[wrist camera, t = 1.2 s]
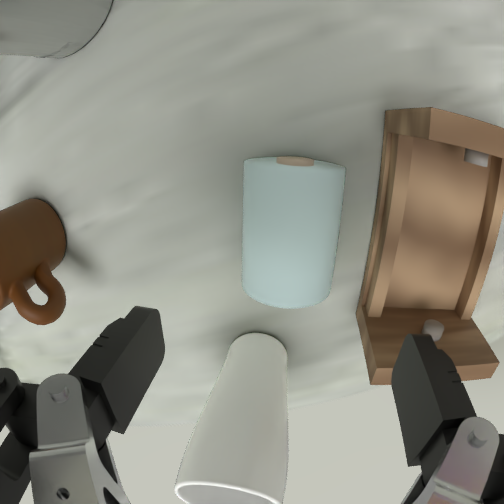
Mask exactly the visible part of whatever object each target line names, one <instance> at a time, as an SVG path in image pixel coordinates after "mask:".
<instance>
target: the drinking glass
mask: <svg viewBox="0 0 504 504" xmlns="http://www.w3.org/2000/svg"><path fill="white" fill-rule="evenodd" d="M287 363H288V356H287V352H286V349H285V348H284V346H283V345H282V344H281V342H279V341H278V340H277V339H275V338H274V337H272V336H269V335H267V334H262V333H249V334H245V335H242V336H240V337H238V338H237V339H236V340H235V341H234V342H233V343H232V344H231V346H230V348H229V350H228V353H227V357H226V360H225V362H224V364H223V367H222V369H221V371H220V374H219V376H218V378H217V380H216V382H215V385H214V387H213V389H212V391H211V393H210V396H209V398H208V400H207V402H206V404H205V406H204V409H203V411H202V413H201V415H200V417H199V419H198V421H197V424H196V426H195V428H194V430H193V432H192V435H191V437H190V439H189V442H188V445H187V447H186V450H185V453H184V456H183V459H182V462H181V465H180V468H179V472H178V475H177V479H176V483H175V486H174V491H175V493H176V495H177V496H178V497H179V498H180V499H181V500H183V501H184V502H186V503H187V504H283V499H284V493H285V487H286V480H287V470H288V451H289V450H288V403H287Z"/></svg>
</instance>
